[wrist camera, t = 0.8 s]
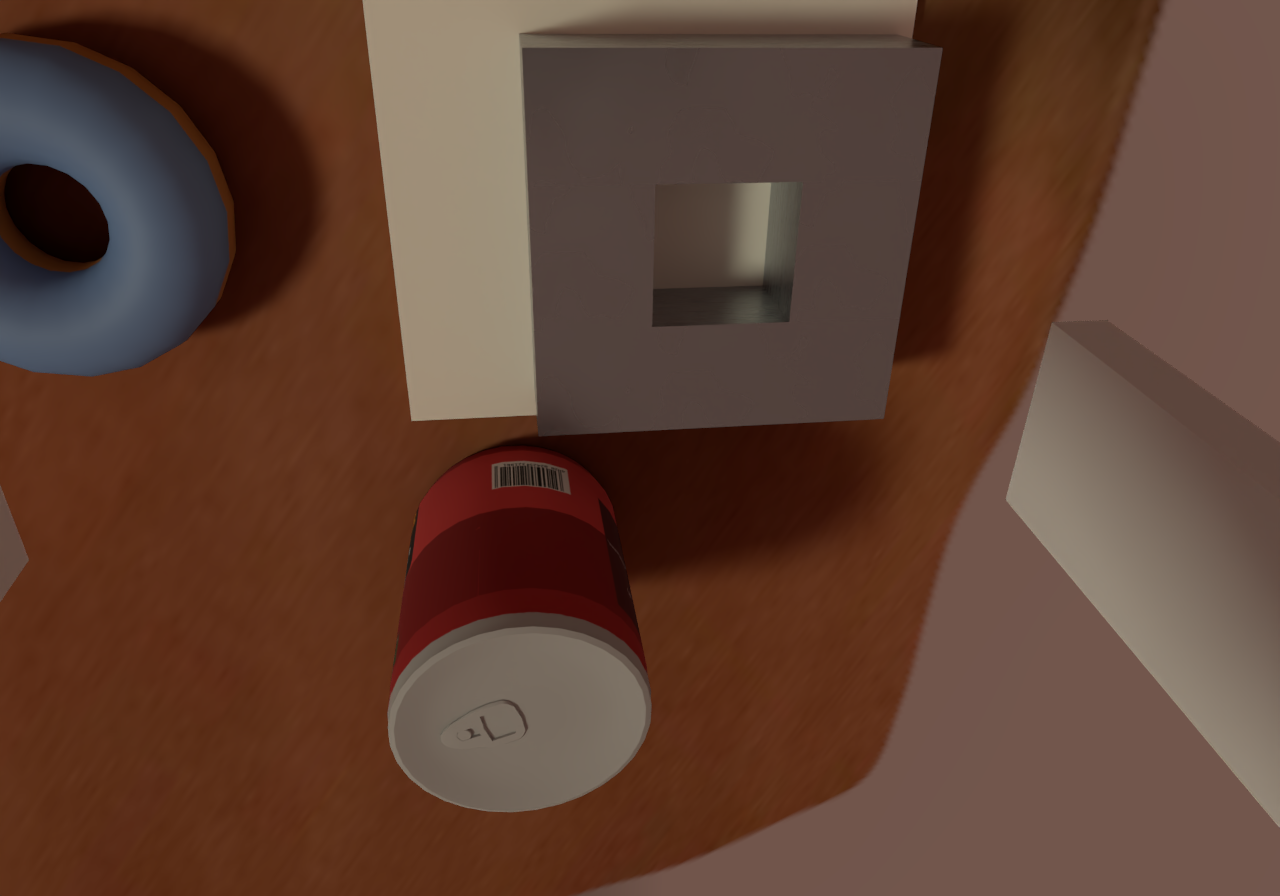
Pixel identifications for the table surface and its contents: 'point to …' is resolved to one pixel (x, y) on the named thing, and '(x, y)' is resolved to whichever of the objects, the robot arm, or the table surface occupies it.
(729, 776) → the table surface
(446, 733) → the canned food
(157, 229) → the doughnut
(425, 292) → the mat
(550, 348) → the square hole block
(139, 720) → the table surface
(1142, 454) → the robot arm
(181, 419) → the table surface
